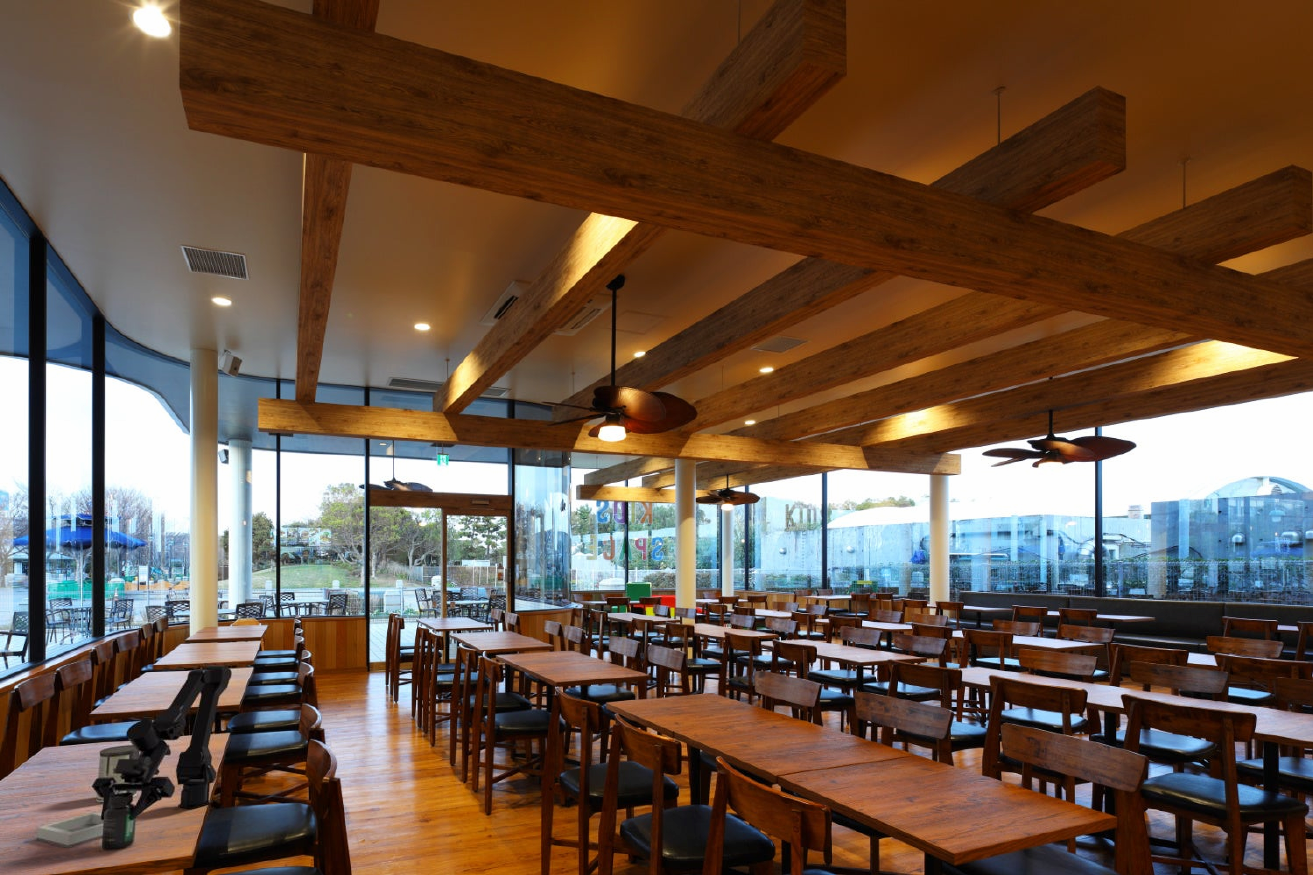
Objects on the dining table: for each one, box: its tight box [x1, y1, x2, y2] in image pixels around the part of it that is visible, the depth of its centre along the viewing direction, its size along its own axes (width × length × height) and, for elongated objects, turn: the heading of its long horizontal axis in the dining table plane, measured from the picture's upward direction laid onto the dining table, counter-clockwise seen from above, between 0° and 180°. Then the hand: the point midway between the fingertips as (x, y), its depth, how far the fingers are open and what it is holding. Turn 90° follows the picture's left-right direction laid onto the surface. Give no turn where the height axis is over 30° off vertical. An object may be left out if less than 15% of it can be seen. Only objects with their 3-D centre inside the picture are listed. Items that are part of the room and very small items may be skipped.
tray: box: [35, 811, 104, 848], centre depth 210 cm, size 14×14×3 cm
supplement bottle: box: [101, 793, 137, 851], centre depth 202 cm, size 7×7×12 cm
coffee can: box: [95, 744, 140, 803], centre depth 243 cm, size 10×10×14 cm
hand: (116, 819), depth 201 cm, fingers closed on supplement bottle, 7 cm apart
